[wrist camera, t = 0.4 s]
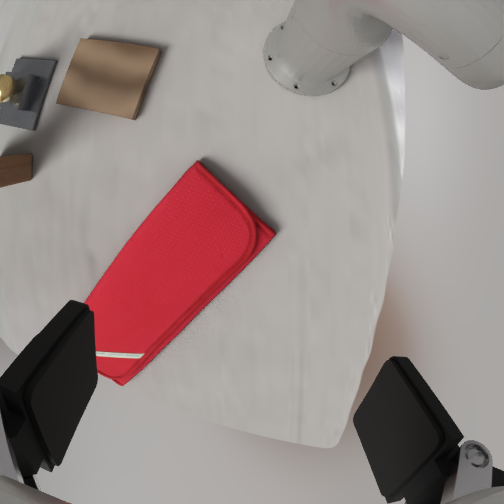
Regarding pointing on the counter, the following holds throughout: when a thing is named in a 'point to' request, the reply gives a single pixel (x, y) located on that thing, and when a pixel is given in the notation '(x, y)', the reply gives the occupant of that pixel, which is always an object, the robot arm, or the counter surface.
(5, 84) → the button
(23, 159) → the wooden block
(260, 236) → the dish drying mat
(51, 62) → the plate
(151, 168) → the counter surface
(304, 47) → the robot arm
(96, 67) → the board
